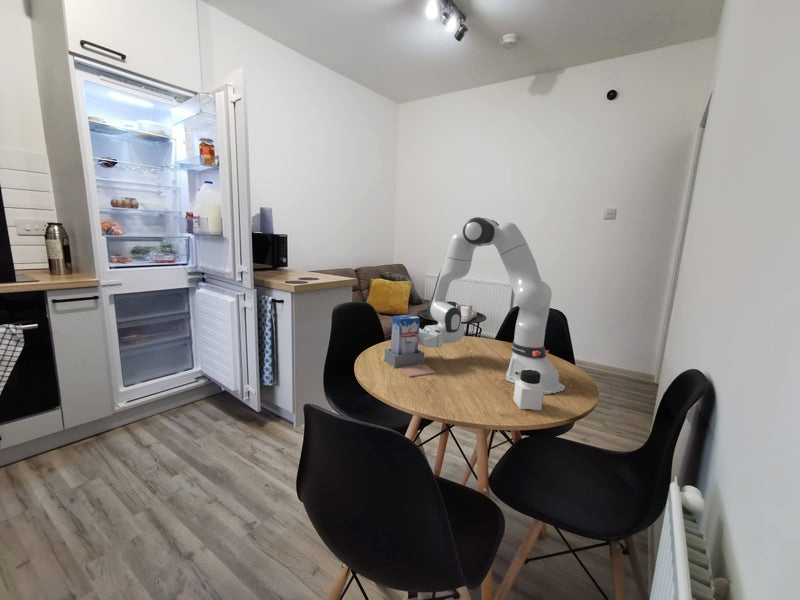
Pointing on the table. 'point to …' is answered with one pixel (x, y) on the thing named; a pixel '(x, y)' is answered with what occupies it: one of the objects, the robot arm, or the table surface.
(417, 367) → the terracotta tile
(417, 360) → the carton holder
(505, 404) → the table surface
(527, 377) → the medicine bottle
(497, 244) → the robot arm
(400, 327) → the milk carton
